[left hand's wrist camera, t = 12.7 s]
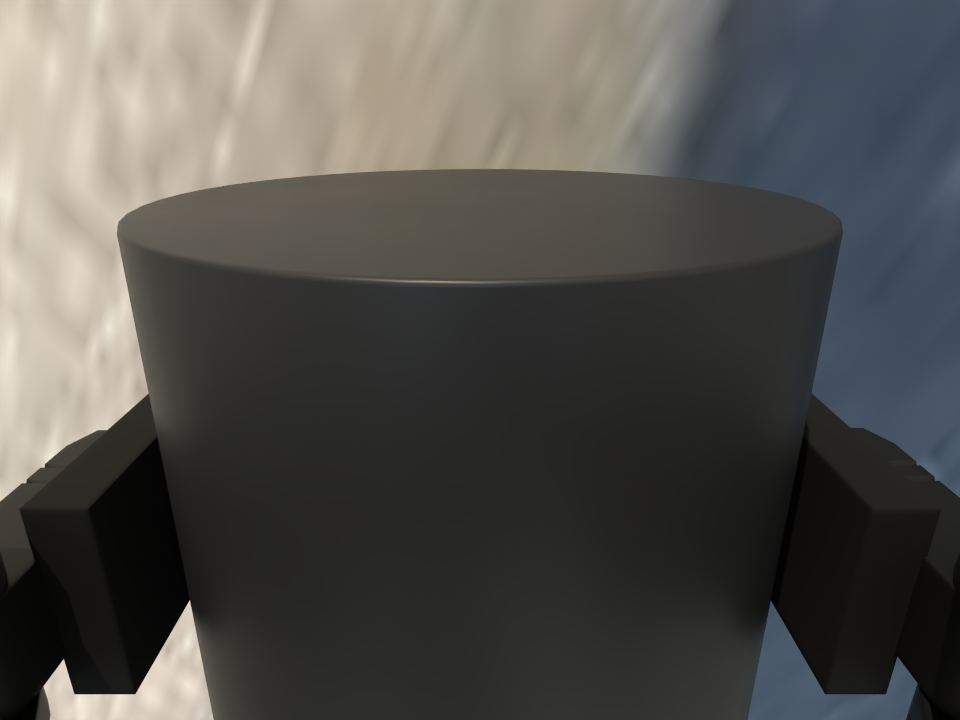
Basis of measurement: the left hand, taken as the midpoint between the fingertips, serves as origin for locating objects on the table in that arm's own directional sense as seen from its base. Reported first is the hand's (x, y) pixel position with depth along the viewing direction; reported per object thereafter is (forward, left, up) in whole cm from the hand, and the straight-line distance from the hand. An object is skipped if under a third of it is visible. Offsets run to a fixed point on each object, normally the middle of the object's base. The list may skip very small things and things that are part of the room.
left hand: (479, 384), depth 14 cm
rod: (+7, +4, 0) cm, 9 cm away
